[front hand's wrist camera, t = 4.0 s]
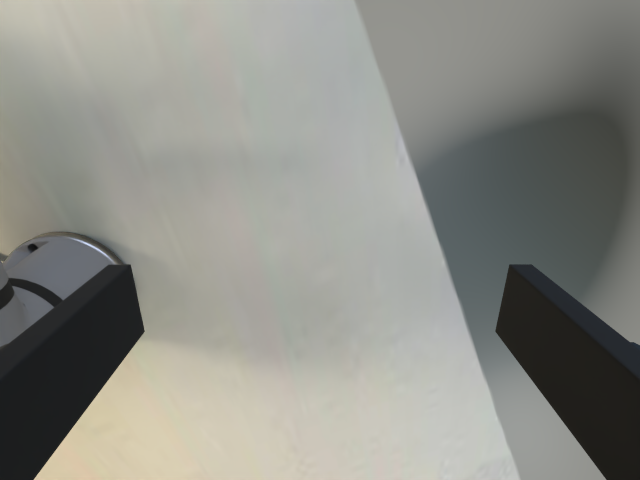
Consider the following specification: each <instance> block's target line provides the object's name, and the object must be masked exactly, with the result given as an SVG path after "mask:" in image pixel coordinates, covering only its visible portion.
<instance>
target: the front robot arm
mask: <svg viewBox="0 0 640 480" xmlns="http://www.w3.org/2000/svg"><path fill="white" fill-rule="evenodd" d="M143 333H144V326H143V321H142V317H141V312H140V307H139V302H138V298H137V293H136V288H135V283H134V279H133V274H132V269H131V265H124V264H123V263H122V262H121V261H120V259H119V258H118V257H117V256H116V255H115V254H114V253H112V252H111V251H110V250H109V249H107V248H106V247H105V246H103V245H102V244H100V243H98V242H96V241H94V240H92V239H90V238H88V237H85V236H82V235H78V234H74V233H68V232H52V233H46V234H43V235H39V236H37V237H35V238H33V239H31V240H29V241H27V242H25V243H23V244H21V245H20V246H19V247H17V248H16V249H15V250H14V251H13V252H12V253H11V254H10V255H9V256H8V257H7V258H6V260H5V261H4V262H3V263H2V262H1V260H0V480H34V478H35V477H36V476H37V474H38V473H39V472H40V470H41V469H42V468H43V466H44V465H45V464H46V462H47V461H48V460H49V458H50V457H51V456H52V454H53V453H54V452H55V450H56V449H57V448H58V446H59V445H60V444H61V442H62V441H63V440H64V438H65V437H66V436H67V434H68V433H69V432H70V430H71V429H72V428H73V426H74V425H75V424H76V422H77V421H78V420H79V418H80V417H81V416H82V414H83V413H84V412H85V410H86V409H87V408H88V406H89V405H90V404H91V402H92V401H93V400H94V398H95V397H96V396H97V394H98V393H99V392H100V390H101V389H102V388H103V386H104V385H105V384H106V382H107V381H108V380H109V378H110V377H111V376H112V374H113V373H114V372H115V370H116V369H117V368H118V366H119V365H120V364H121V362H122V361H123V360H124V358H125V357H126V356H127V354H128V353H129V352H130V350H131V349H132V348H133V346H134V345H135V344H136V342H137V341H138V340H139V338H140V337H141V336H142V334H143ZM496 333H497V334H498V336H499V337H500V338H501V339H502V341H503V342H504V343H505V345H506V346H507V348H508V349H509V350H510V351H511V353H512V354H513V356H514V357H515V358H516V360H517V361H518V362H519V364H520V365H521V366H522V368H523V369H524V370H525V372H526V373H527V374H528V376H529V377H530V378H531V379H532V381H533V382H534V383H535V385H536V386H537V388H538V389H539V390H540V391H541V393H542V394H543V396H544V397H545V398H546V399H547V401H548V402H549V404H550V405H551V406H552V408H553V409H554V410H555V412H556V413H557V414H558V415H559V417H560V418H561V420H562V421H563V422H564V424H565V425H566V426H567V427H568V429H569V430H570V431H571V433H572V434H573V436H574V437H575V438H576V440H577V441H578V442H579V443H580V445H581V446H582V448H583V449H584V450H585V452H586V453H587V454H588V456H589V457H590V458H591V460H592V461H593V462H594V463H595V465H596V466H597V468H598V469H599V470H600V471H601V473H602V474H603V476H604V477H605V478H606V480H640V345H638V344H636V343H634V342H629V341H628V340H626V339H625V338H624V337H622V336H621V335H620V334H619V333H617V332H616V331H615V330H614V329H612V328H611V327H610V326H609V325H607V324H606V323H605V322H604V321H602V320H601V319H600V318H598V317H597V316H596V315H595V314H593V313H592V312H591V311H590V310H588V309H587V308H586V307H584V306H583V305H582V304H581V303H580V302H578V301H577V300H576V299H574V298H573V297H572V296H571V295H569V294H568V293H567V292H566V291H564V290H563V289H562V288H560V287H559V286H558V285H557V284H555V283H554V282H553V281H552V280H550V279H549V278H548V277H547V276H545V275H544V274H543V273H542V272H540V271H539V270H538V269H536V268H535V267H534V266H533V265H509V269H508V274H507V279H506V283H505V288H504V293H503V298H502V303H501V307H500V312H499V317H498V321H497V326H496Z"/></svg>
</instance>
